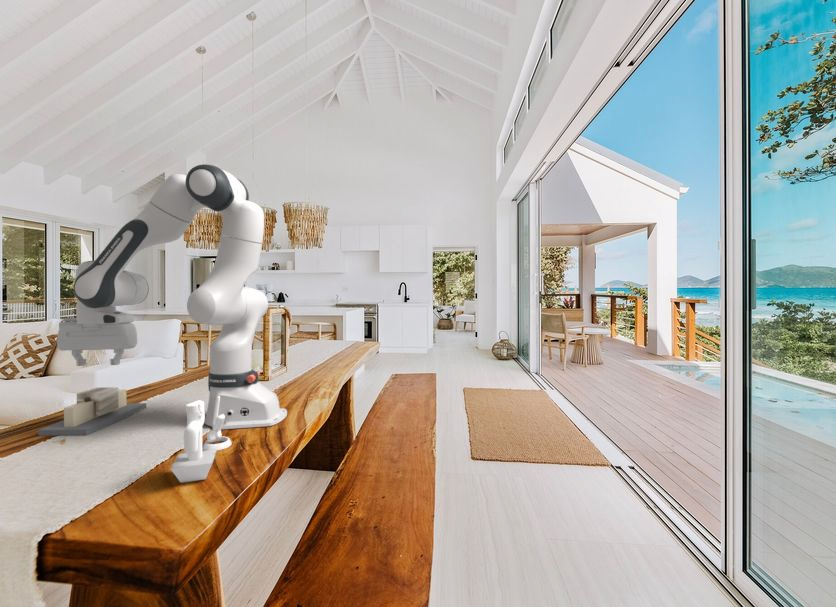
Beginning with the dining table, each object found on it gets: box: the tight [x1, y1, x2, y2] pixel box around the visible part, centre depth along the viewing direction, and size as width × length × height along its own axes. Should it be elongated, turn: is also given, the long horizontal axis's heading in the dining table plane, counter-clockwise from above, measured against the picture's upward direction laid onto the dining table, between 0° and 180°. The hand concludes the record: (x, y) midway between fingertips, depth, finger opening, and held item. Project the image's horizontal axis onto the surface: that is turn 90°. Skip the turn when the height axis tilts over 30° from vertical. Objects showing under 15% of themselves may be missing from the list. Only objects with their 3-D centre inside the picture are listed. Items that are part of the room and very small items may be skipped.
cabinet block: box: [76, 386, 119, 415], centre depth 113 cm, size 6×8×6 cm
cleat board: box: [37, 388, 147, 437], centre depth 114 cm, size 12×24×6 cm, turn 2°
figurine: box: [169, 400, 218, 484], centre depth 79 cm, size 7×9×15 cm
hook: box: [202, 414, 232, 451], centre depth 94 cm, size 6×10×6 cm
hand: (98, 365), depth 113 cm, fingers open, 8 cm apart
